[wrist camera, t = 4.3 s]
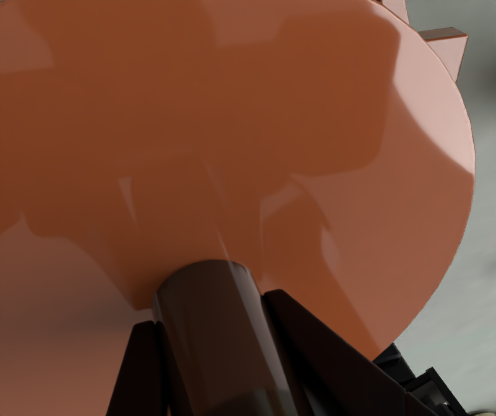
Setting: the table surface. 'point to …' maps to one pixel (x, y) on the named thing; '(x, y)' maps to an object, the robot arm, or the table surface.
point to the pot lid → (216, 192)
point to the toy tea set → (485, 414)
